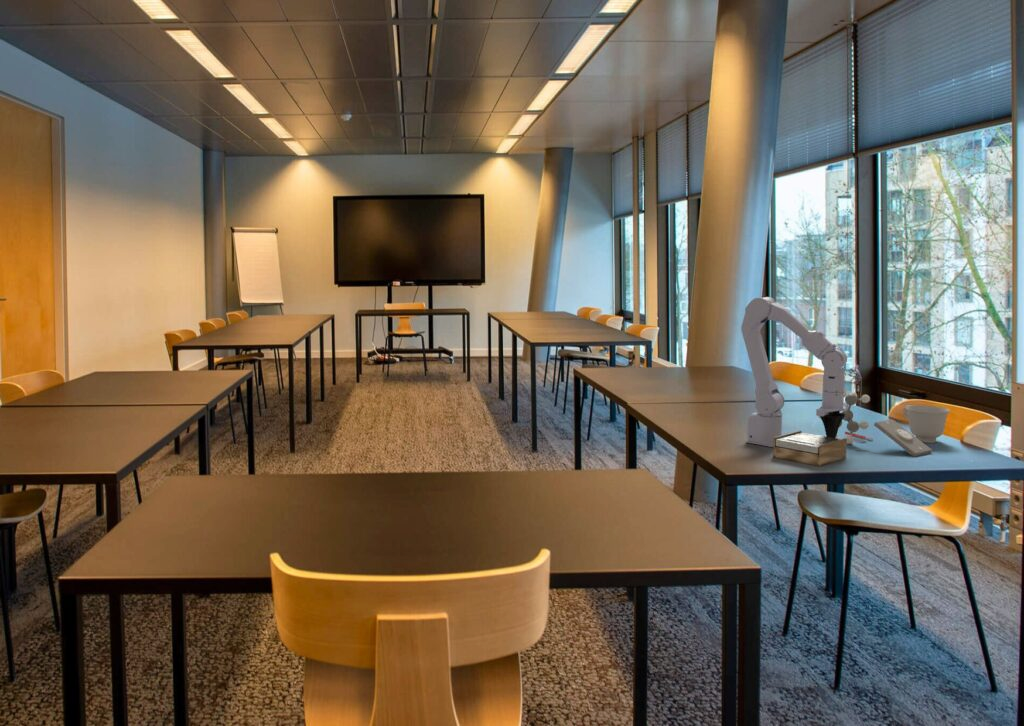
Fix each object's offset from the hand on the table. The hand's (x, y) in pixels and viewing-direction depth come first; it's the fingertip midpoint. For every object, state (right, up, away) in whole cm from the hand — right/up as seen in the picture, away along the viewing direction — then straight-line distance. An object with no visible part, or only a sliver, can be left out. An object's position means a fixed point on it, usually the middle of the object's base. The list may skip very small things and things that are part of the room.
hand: (831, 437), depth 225 cm
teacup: (+34, -2, +15) cm, 37 cm away
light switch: (+21, -4, +1) cm, 21 cm away
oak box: (-9, -5, -7) cm, 13 cm away
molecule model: (+12, -2, +16) cm, 20 cm away
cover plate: (-9, -2, -8) cm, 12 cm away
